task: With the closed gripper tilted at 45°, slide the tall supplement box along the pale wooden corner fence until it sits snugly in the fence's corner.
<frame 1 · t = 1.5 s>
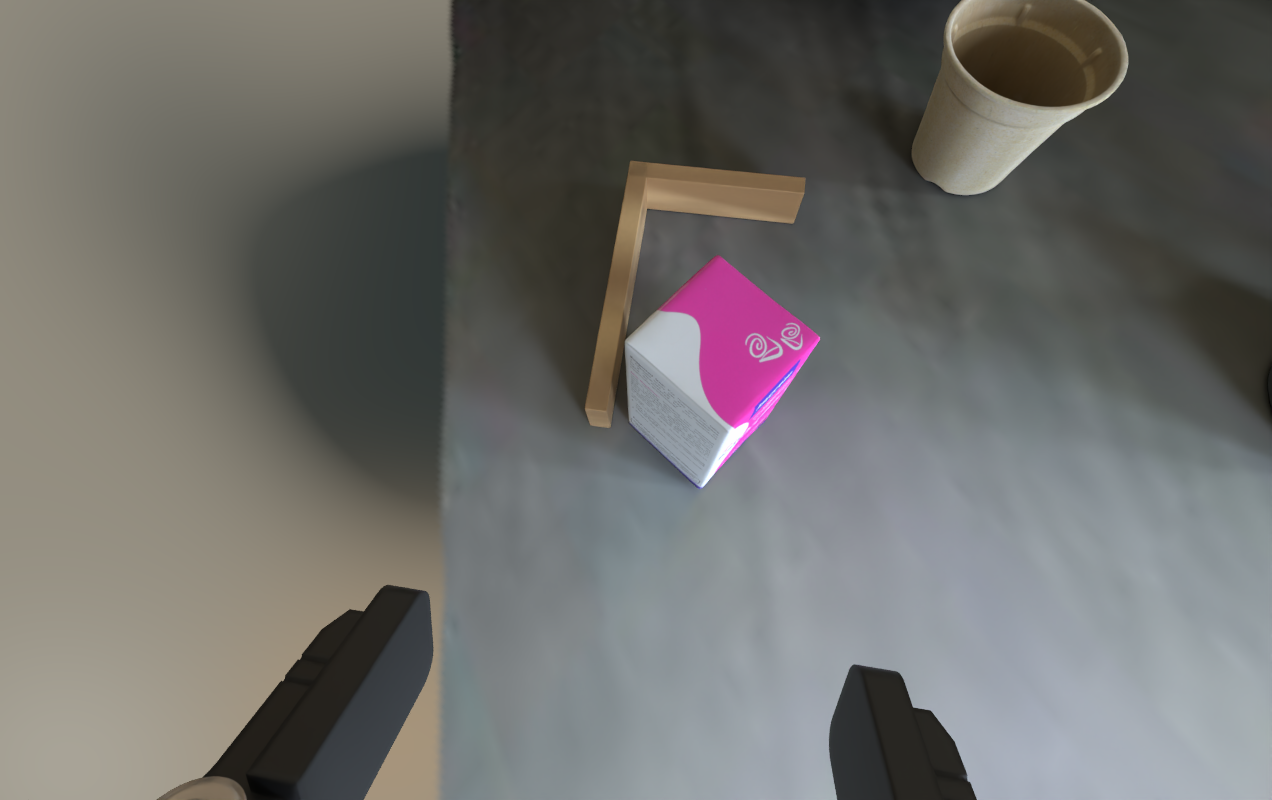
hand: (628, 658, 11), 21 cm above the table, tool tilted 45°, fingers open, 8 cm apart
flower pot: (956, 161, 40), on the table
supplement box: (698, 423, 34), on the table
corner fence: (695, 257, 38), on the table
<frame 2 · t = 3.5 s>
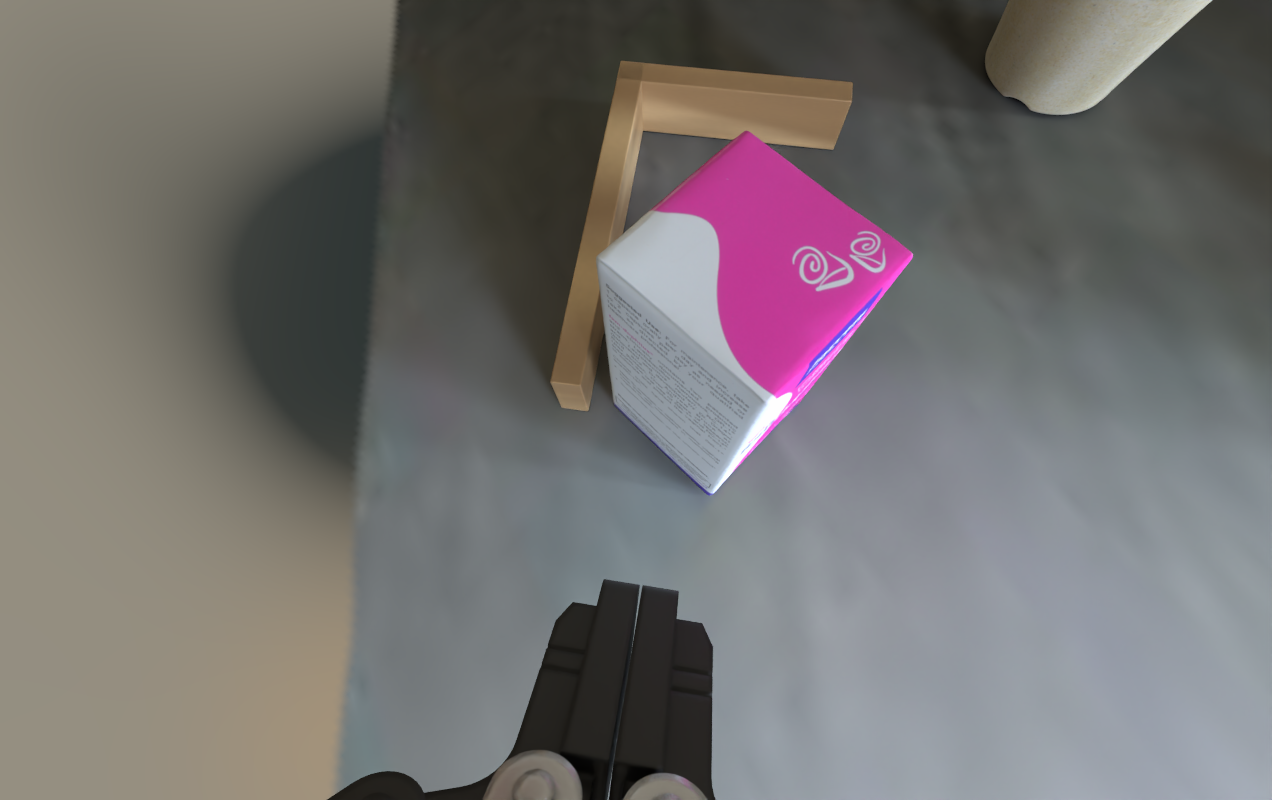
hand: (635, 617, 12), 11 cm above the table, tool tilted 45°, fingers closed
flower pot: (1042, 74, 31), on the table
supplement box: (707, 406, 25), on the table
corner fence: (705, 191, 29), on the table
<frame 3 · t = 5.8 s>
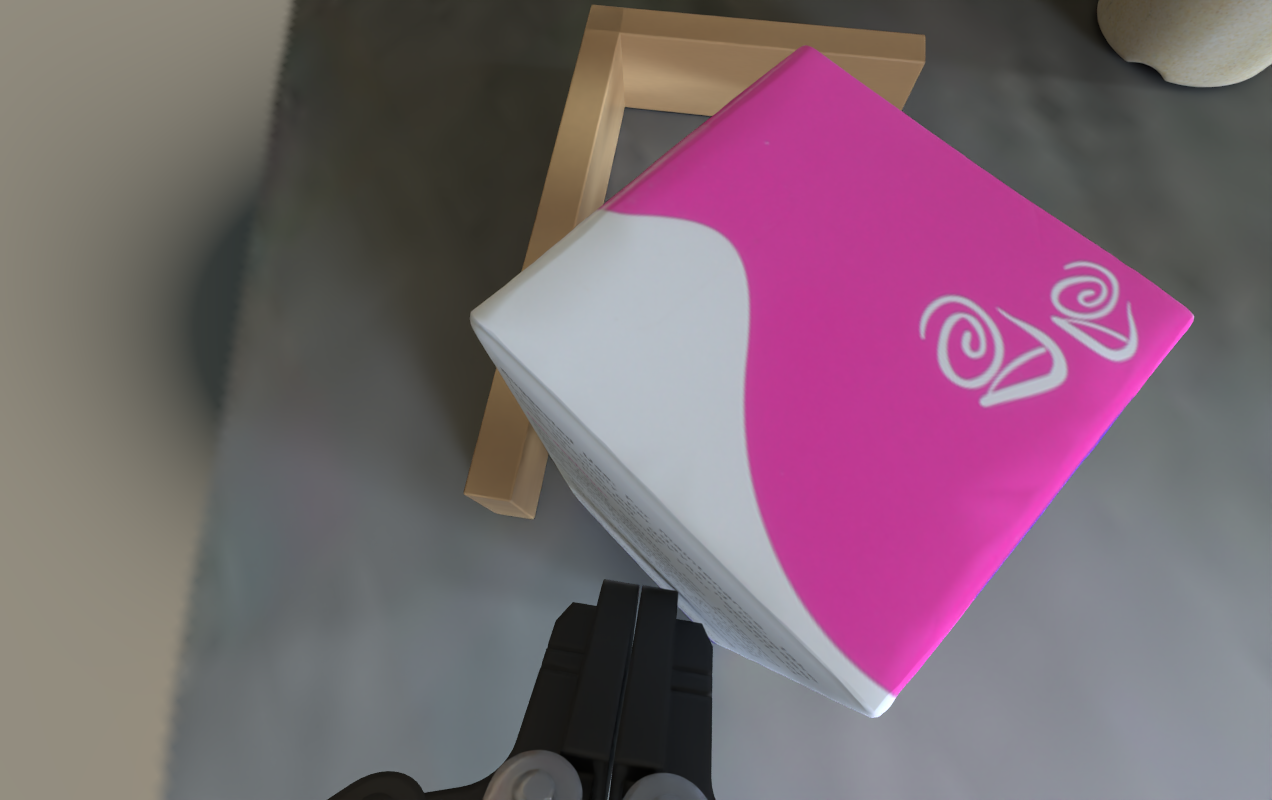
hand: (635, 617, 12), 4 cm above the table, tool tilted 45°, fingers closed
flower pot: (1175, 33, 23), on the table
supplement box: (714, 498, 17), on the table
corner fence: (711, 191, 21), on the table
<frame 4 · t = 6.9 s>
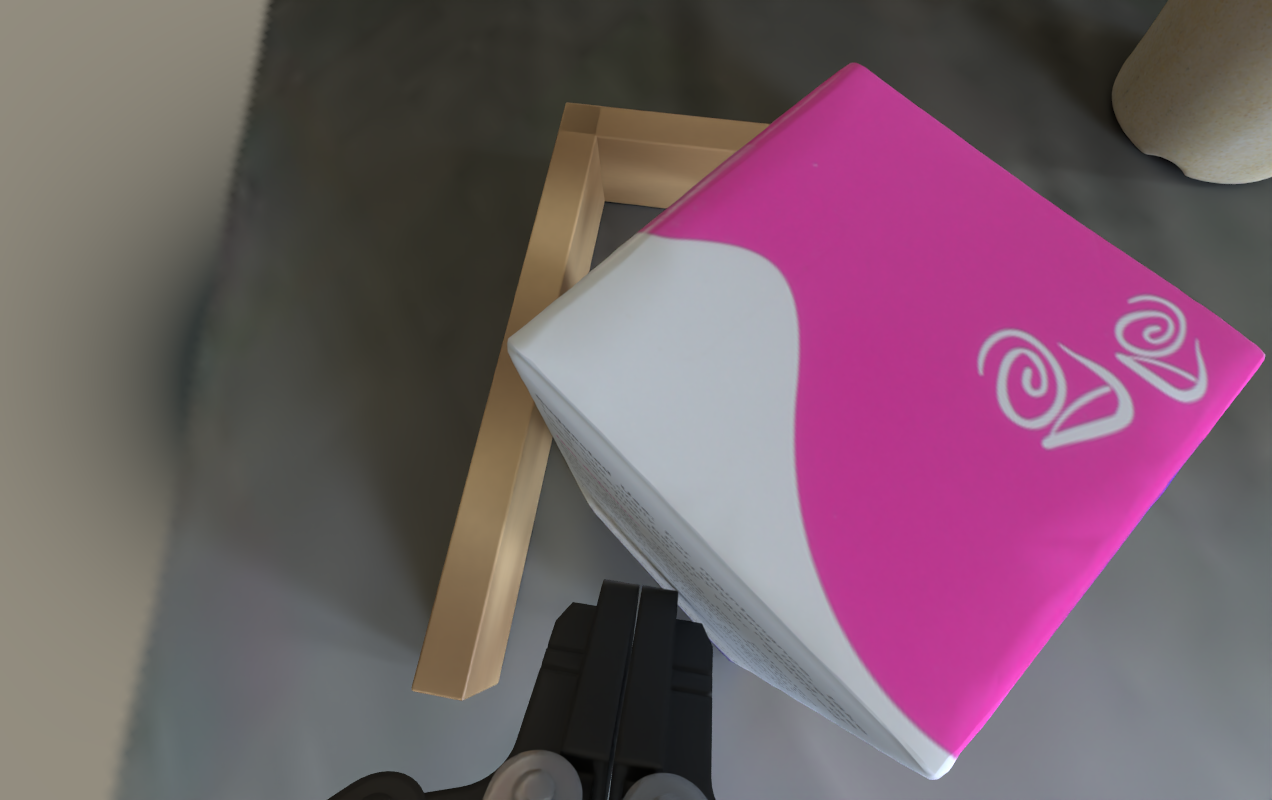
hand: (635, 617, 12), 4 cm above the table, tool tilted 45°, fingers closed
flower pot: (1196, 119, 21), on the table
supplement box: (732, 513, 17), on the table, touching gripper
corner fence: (696, 299, 19), on the table
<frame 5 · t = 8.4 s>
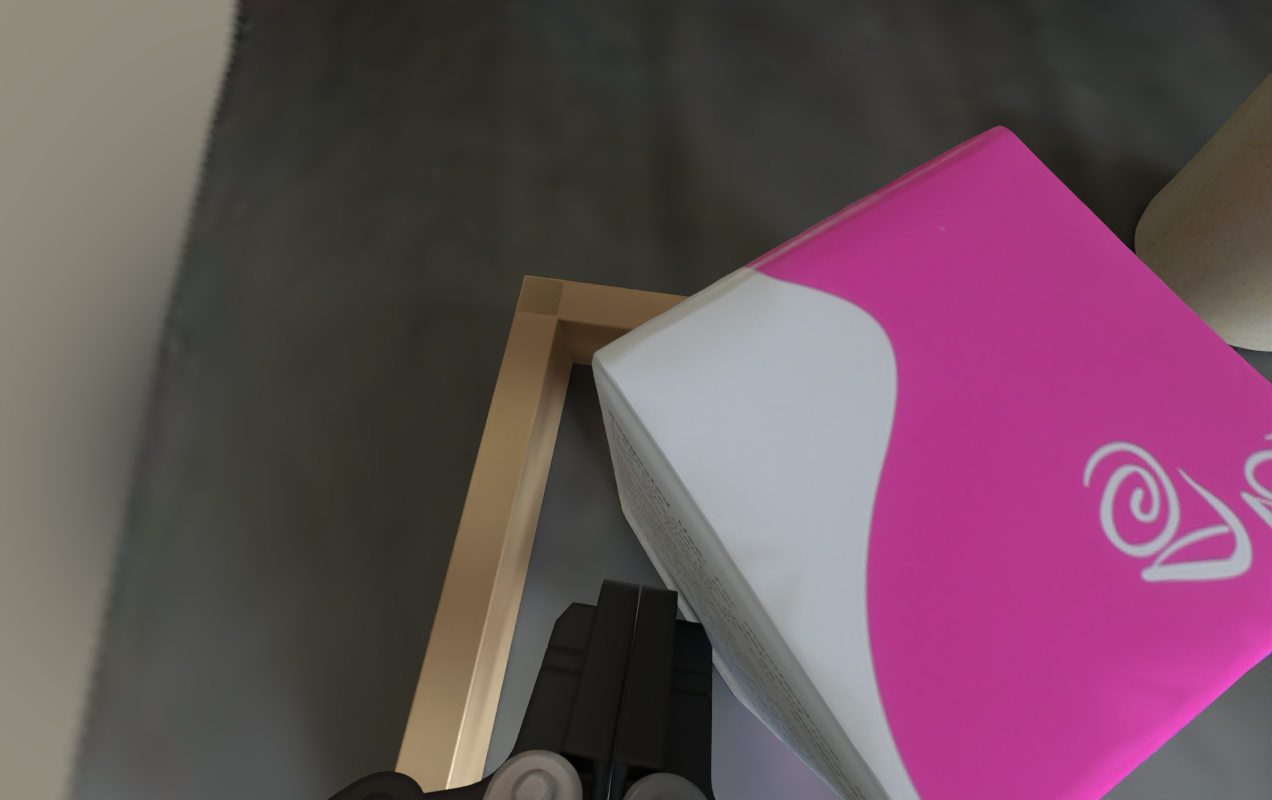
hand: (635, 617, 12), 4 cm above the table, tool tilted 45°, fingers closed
flower pot: (1228, 267, 19), on the table
supplement box: (762, 546, 17), on the table, touching gripper
corner fence: (672, 485, 17), on the table
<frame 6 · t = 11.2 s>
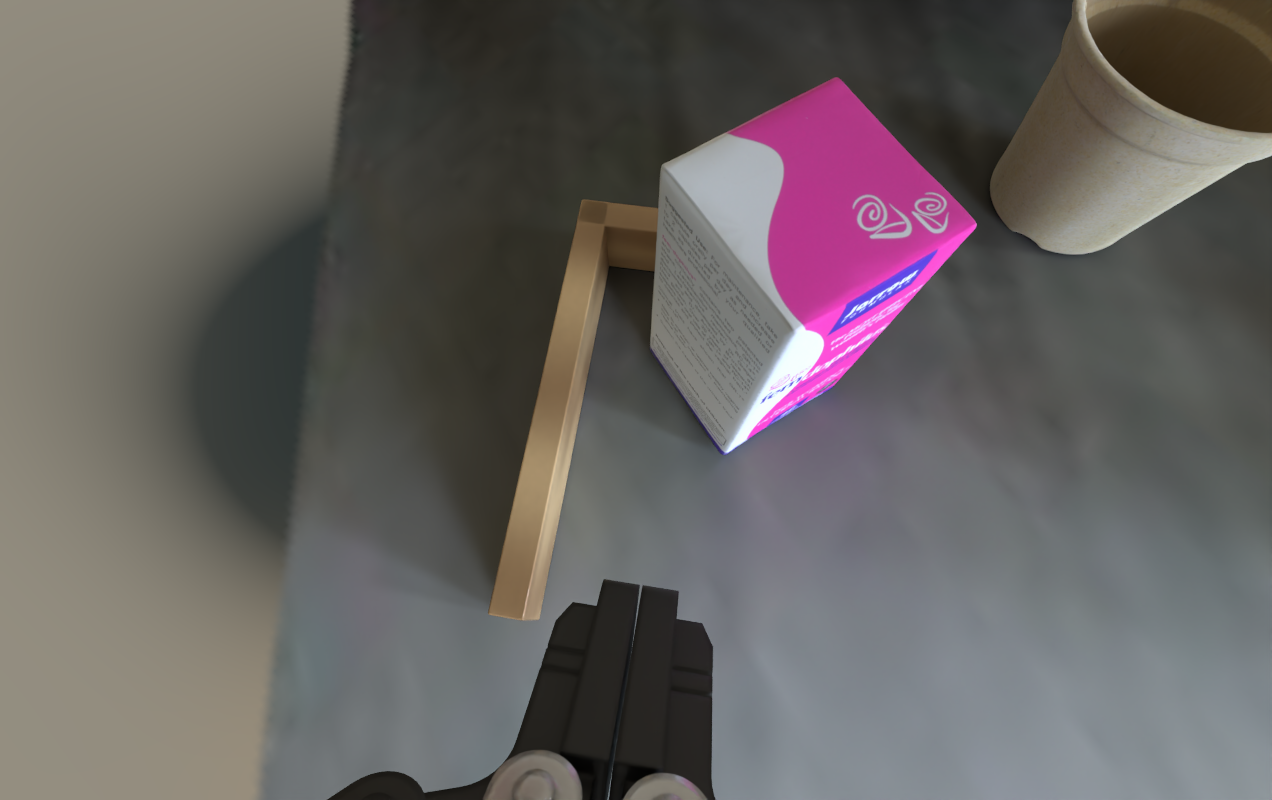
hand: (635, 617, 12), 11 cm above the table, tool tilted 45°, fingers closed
flower pot: (1053, 203, 28), on the table
supplement box: (740, 372, 25), on the table
corner fence: (678, 341, 26), on the table
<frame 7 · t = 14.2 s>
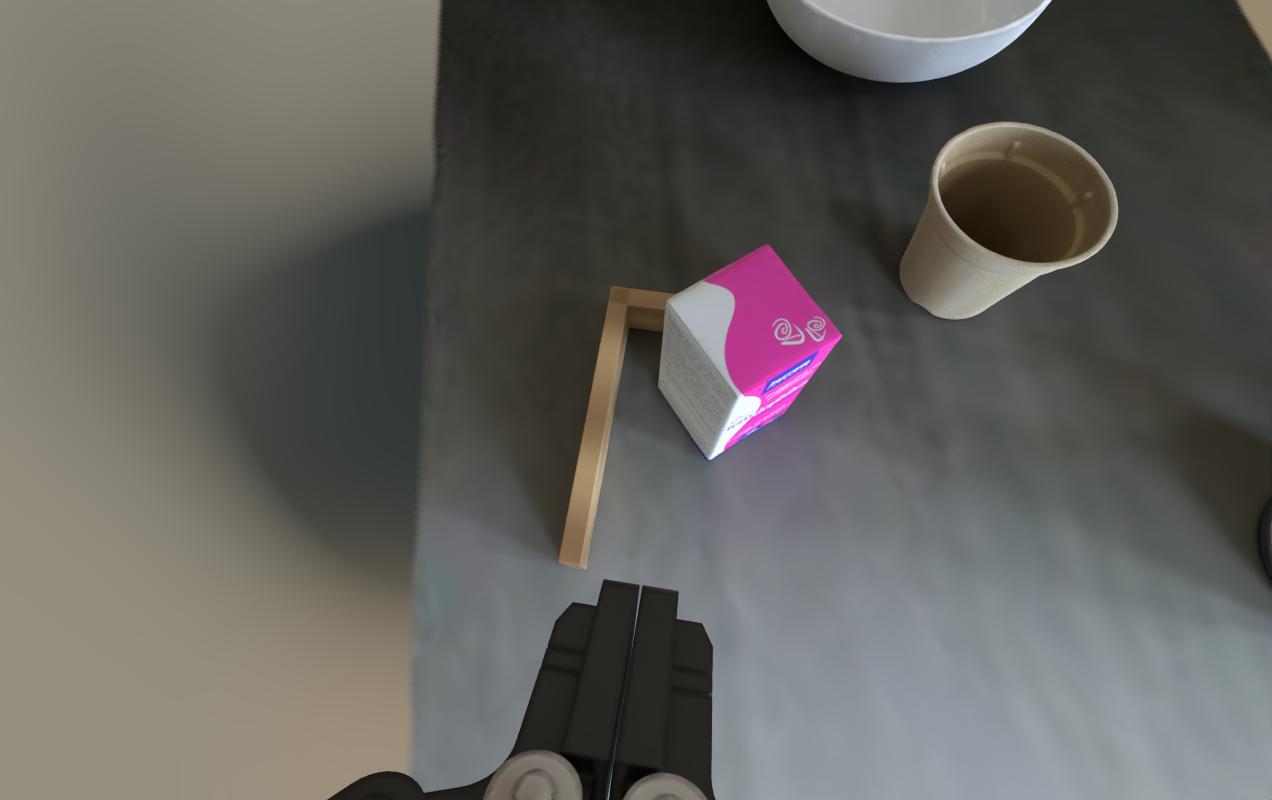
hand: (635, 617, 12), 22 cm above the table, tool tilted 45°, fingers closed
serving bowl: (875, 25, 47), on the table
flower pot: (945, 280, 39), on the table
supplement box: (720, 403, 37), on the table
corner fence: (677, 382, 37), on the table
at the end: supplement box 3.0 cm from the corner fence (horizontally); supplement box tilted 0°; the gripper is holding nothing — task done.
